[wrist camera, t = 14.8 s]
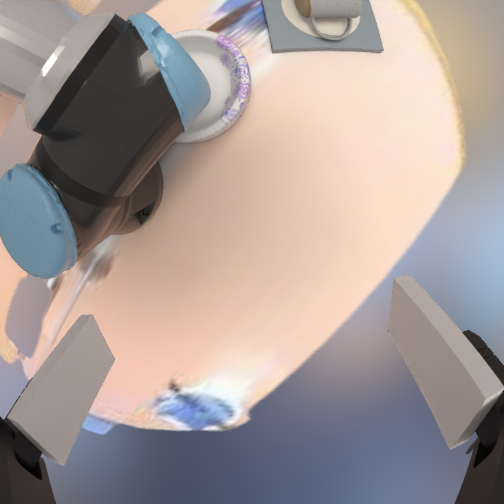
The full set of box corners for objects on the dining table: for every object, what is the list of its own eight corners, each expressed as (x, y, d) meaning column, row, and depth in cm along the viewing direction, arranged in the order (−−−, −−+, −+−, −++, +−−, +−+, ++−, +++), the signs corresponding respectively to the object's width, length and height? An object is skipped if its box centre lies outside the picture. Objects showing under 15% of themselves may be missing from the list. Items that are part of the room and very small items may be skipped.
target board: (272, 53, 32) (273, 49, 31) (256, -21, 27) (256, -26, 25) (380, 52, 31) (384, 50, 30) (358, -19, 26) (361, -23, 24)
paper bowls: (135, 76, 33) (112, 65, 26) (227, 32, 31) (222, 11, 24) (171, 159, 39) (152, 164, 31) (267, 118, 36) (270, 112, 29)
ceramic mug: (286, -10, 26) (292, -35, 19) (336, -13, 26) (350, -35, 19) (307, 45, 30) (319, 26, 23) (359, 41, 30) (379, 25, 23)
